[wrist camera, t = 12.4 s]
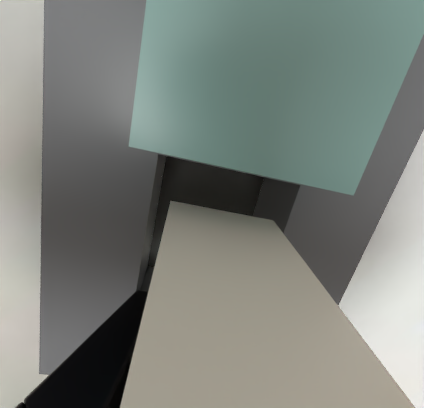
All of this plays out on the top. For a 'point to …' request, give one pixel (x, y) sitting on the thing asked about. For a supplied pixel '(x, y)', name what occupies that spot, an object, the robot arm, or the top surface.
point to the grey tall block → (246, 325)
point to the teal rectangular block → (273, 83)
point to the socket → (153, 174)
